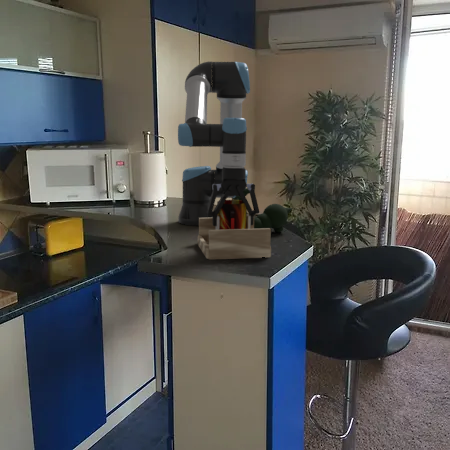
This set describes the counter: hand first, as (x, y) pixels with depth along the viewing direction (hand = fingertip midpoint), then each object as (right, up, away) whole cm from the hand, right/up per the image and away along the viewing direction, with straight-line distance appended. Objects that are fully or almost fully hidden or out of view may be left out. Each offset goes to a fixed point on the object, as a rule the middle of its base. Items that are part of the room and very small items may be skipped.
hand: (232, 235), depth 172 cm
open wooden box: (0, -5, +1) cm, 5 cm away
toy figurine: (+12, 0, +28) cm, 30 cm away
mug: (+1, -1, 0) cm, 2 cm away
